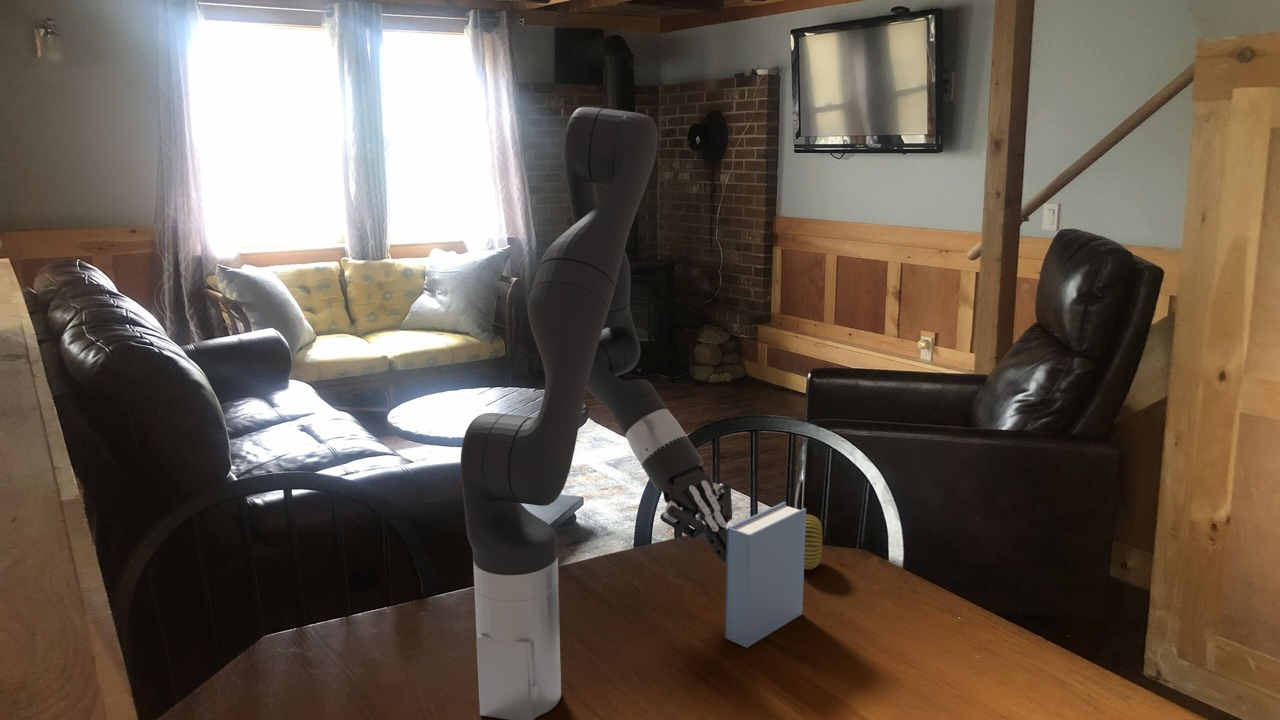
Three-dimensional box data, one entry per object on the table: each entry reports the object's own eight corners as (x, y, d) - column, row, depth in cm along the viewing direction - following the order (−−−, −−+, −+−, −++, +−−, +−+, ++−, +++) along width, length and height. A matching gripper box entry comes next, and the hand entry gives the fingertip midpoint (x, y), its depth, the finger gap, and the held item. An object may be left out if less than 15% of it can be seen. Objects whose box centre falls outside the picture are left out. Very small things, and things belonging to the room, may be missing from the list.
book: (802, 613, 128) (806, 508, 124) (746, 647, 119) (749, 535, 116) (780, 605, 130) (784, 501, 127) (724, 637, 122) (727, 527, 118)
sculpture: (821, 579, 138) (823, 527, 136) (793, 577, 138) (794, 526, 136) (819, 556, 145) (821, 506, 144) (793, 554, 146) (794, 505, 144)
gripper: (644, 447, 125) (715, 561, 120) (709, 424, 135) (778, 530, 129) (616, 475, 130) (683, 586, 125) (680, 452, 139) (746, 554, 134)
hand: (731, 557), depth 127 cm, fingers closed
